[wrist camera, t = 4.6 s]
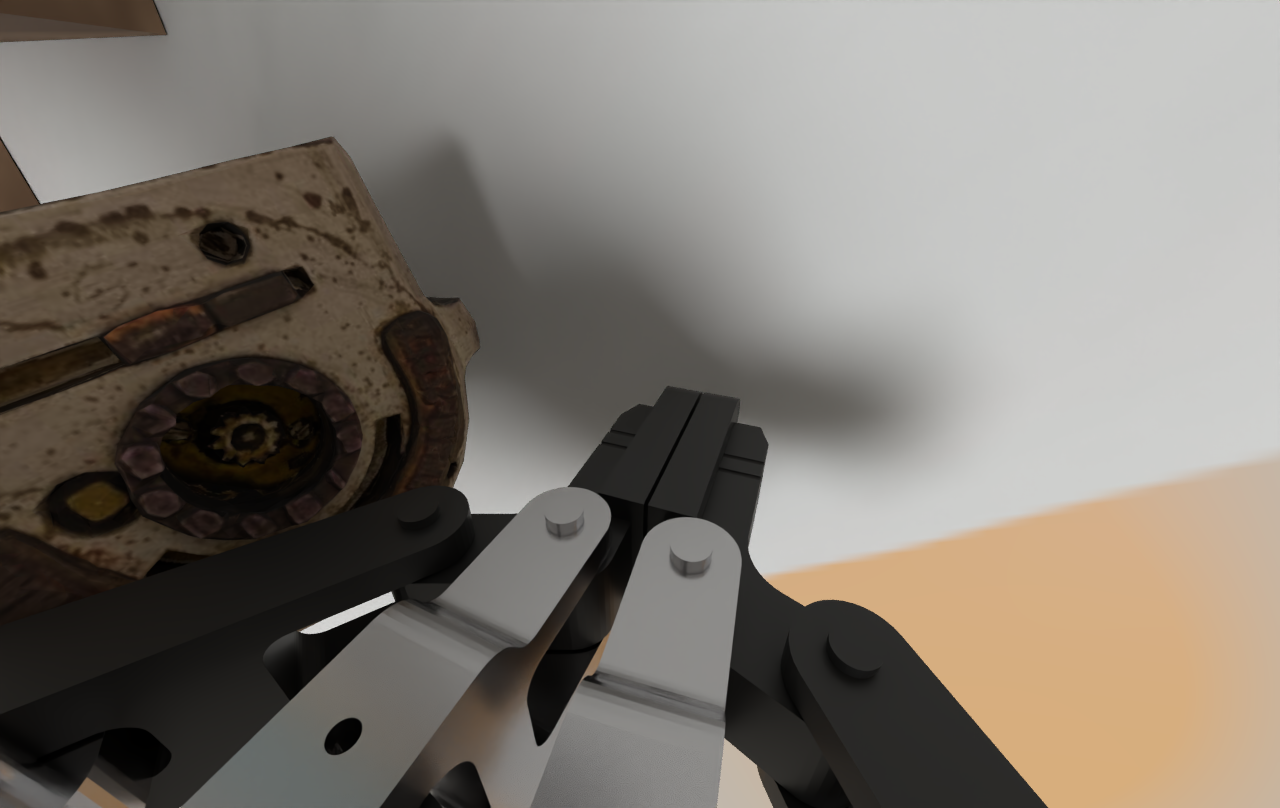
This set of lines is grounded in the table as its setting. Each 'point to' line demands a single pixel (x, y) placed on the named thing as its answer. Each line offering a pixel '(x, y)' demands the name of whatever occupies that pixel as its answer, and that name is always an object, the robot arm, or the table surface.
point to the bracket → (65, 9)
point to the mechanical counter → (211, 371)
